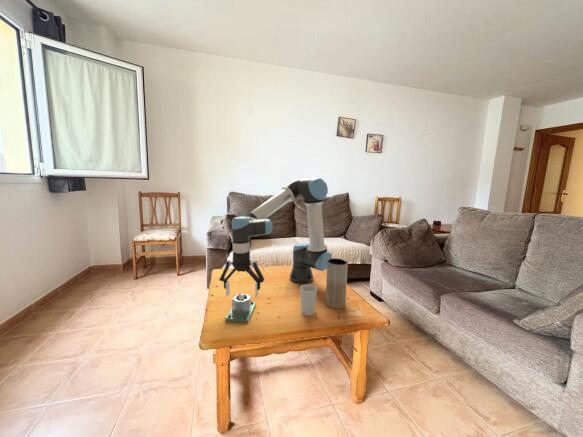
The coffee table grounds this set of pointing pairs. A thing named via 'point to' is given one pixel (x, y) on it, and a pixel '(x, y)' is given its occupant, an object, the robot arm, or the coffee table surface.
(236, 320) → the shaft stand
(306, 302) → the cup
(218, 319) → the coffee table surface
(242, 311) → the ring
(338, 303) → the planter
